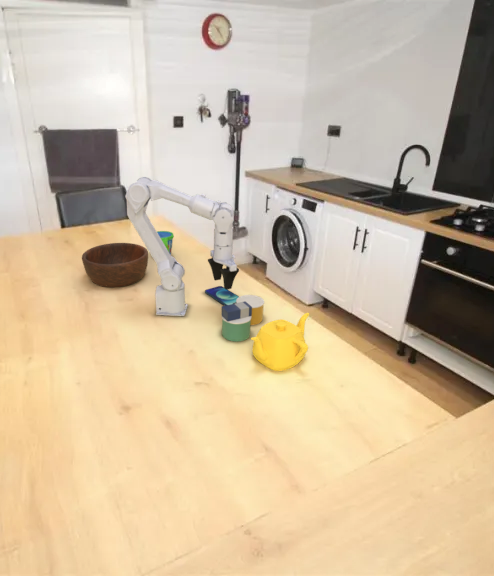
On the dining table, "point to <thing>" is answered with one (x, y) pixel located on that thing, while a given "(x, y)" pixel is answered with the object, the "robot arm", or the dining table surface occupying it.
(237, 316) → the block
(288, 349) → the teapot
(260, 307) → the ochre yogurt pot
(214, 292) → the smartphone
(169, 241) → the snack cup
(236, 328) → the yogurt pot
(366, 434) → the dining table surface
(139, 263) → the wooden bowl
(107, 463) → the dining table surface
